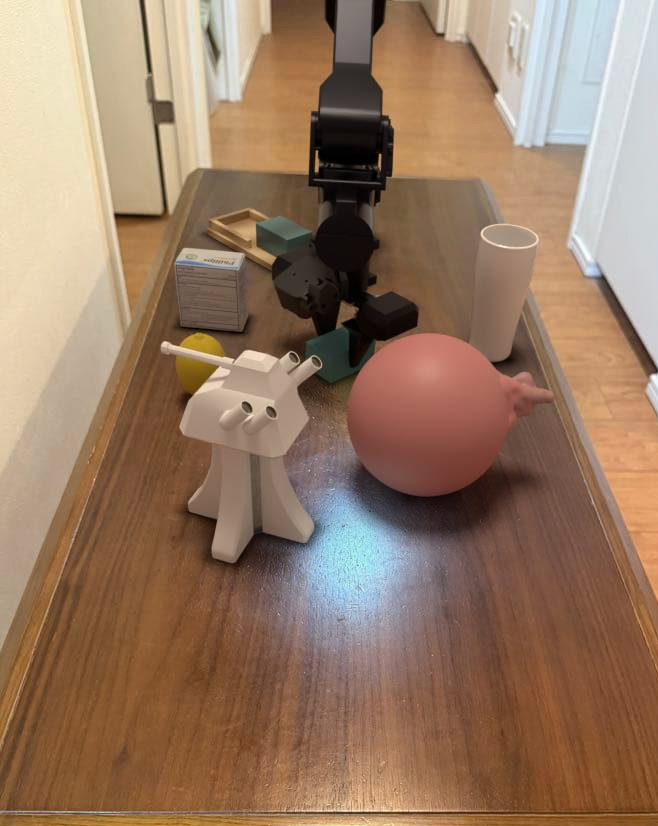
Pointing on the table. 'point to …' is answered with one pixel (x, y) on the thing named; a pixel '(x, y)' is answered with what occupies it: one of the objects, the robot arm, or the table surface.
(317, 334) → the robot arm
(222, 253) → the medicine box
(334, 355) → the teal rectangular block
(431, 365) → the balloon
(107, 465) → the table surface
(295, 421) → the toy gun turret
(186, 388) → the lemon
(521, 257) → the drinking glass
